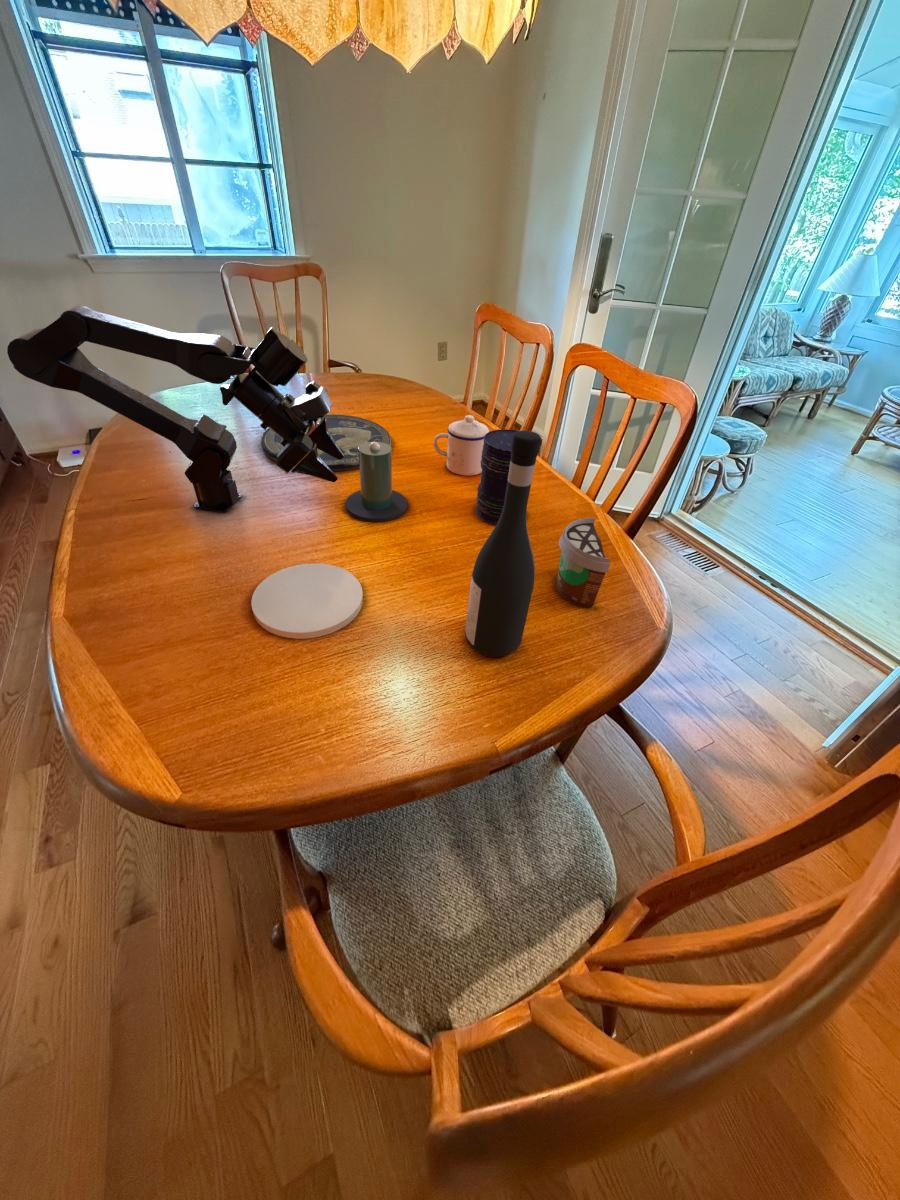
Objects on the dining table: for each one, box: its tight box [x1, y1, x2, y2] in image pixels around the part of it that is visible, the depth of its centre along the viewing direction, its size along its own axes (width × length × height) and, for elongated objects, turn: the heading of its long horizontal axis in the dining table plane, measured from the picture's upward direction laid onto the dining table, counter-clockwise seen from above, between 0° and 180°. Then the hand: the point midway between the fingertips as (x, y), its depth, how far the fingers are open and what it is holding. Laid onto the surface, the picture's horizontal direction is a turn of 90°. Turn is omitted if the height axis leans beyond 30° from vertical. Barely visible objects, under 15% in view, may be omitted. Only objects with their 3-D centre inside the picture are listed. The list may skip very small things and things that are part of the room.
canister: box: [358, 442, 393, 510], centre depth 93 cm, size 6×6×12 cm
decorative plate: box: [260, 413, 392, 472], centre depth 117 cm, size 30×2×30 cm
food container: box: [555, 517, 612, 609], centre depth 78 cm, size 12×6×10 cm, turn 178°
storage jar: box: [475, 428, 518, 526], centre depth 93 cm, size 10×10×15 cm
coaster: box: [344, 489, 409, 523], centre depth 97 cm, size 12×12×1 cm
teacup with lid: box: [433, 414, 490, 477], centre depth 109 cm, size 12×9×12 cm
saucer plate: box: [250, 562, 364, 640], centre depth 74 cm, size 16×16×1 cm
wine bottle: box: [464, 429, 542, 658], centre depth 61 cm, size 8×8×30 cm
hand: (339, 468), depth 92 cm, fingers open, 9 cm apart
